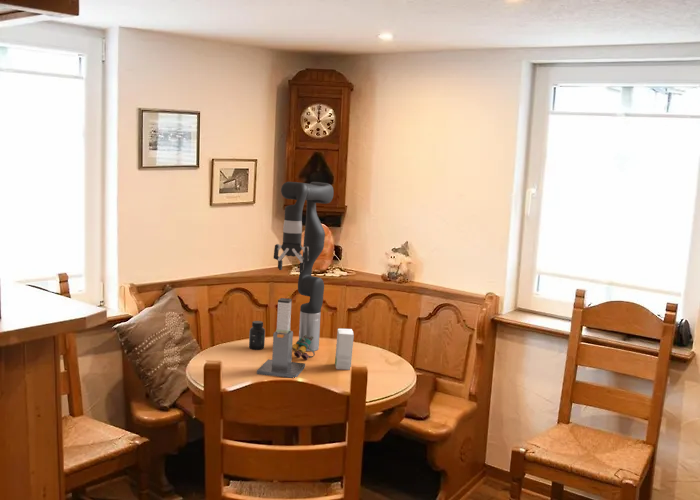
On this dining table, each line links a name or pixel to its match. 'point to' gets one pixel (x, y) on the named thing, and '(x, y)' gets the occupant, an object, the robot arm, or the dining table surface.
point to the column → (284, 316)
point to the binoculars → (302, 347)
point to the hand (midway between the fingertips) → (290, 270)
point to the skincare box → (344, 349)
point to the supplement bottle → (257, 336)
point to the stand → (281, 358)
